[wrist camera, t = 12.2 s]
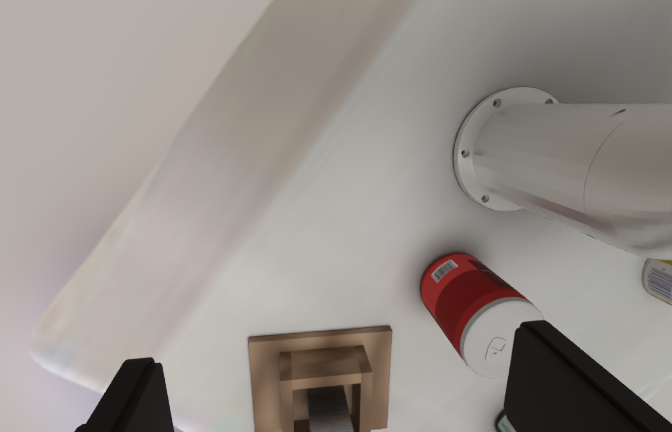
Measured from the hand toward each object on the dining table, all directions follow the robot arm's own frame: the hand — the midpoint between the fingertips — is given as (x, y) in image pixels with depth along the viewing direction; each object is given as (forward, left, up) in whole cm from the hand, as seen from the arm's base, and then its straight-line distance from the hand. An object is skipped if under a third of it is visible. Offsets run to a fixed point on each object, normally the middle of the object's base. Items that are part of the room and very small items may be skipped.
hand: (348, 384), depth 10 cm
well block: (-2, +25, -28) cm, 38 cm away
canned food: (-17, +13, -28) cm, 35 cm away
